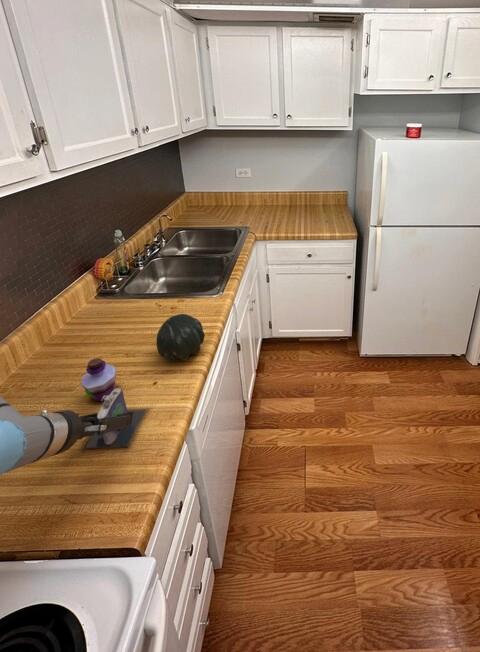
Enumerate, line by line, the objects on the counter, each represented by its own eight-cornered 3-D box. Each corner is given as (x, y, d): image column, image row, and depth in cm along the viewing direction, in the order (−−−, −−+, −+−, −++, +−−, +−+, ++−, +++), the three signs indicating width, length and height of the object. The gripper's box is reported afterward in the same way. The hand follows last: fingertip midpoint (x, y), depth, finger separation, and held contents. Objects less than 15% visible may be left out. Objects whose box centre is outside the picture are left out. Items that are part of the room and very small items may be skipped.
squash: (213, 319, 117) (178, 296, 110) (211, 349, 104) (171, 326, 97) (185, 344, 119) (149, 324, 112) (180, 378, 105) (139, 357, 99)
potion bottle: (79, 406, 90) (67, 373, 86) (99, 381, 98) (89, 349, 94) (110, 407, 90) (99, 374, 86) (128, 382, 98) (119, 350, 94)
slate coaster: (85, 448, 80) (85, 447, 79) (107, 412, 89) (107, 411, 89) (127, 447, 80) (127, 446, 80) (145, 410, 89) (145, 409, 89)
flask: (113, 445, 80) (102, 413, 76) (100, 445, 80) (89, 413, 76) (131, 411, 88) (122, 381, 85) (119, 412, 88) (110, 381, 84)
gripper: (110, 409, 64) (157, 400, 85) (-2, 414, 63) (74, 403, 84) (101, 455, 61) (153, 433, 82) (-16, 461, 60) (66, 437, 81)
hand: (113, 418), depth 83 cm, fingers open, 8 cm apart
